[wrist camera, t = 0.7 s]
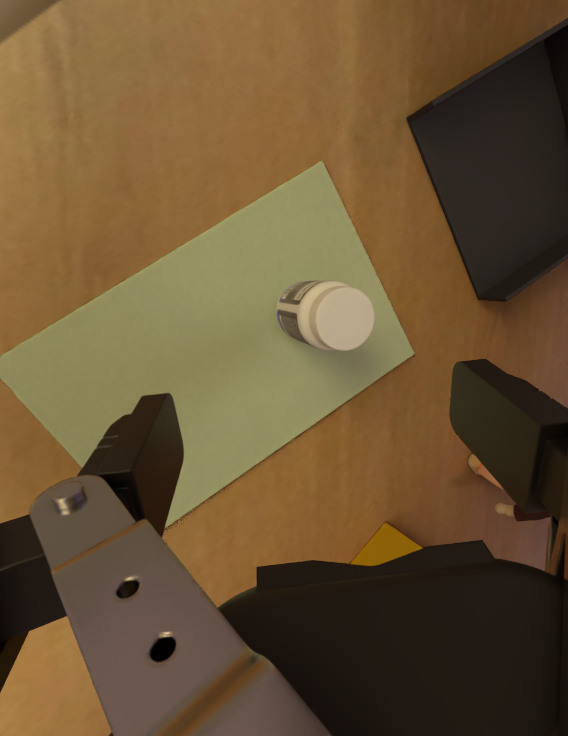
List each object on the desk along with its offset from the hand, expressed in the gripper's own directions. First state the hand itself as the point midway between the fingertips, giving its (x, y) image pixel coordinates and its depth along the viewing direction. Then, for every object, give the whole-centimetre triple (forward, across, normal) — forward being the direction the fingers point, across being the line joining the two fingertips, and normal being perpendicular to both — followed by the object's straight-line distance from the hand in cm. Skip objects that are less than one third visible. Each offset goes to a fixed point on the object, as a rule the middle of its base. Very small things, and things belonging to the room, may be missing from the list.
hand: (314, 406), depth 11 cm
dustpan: (+29, -24, -7) cm, 38 cm away
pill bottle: (+22, -2, +3) cm, 22 cm away
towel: (+20, +4, +6) cm, 21 cm away
